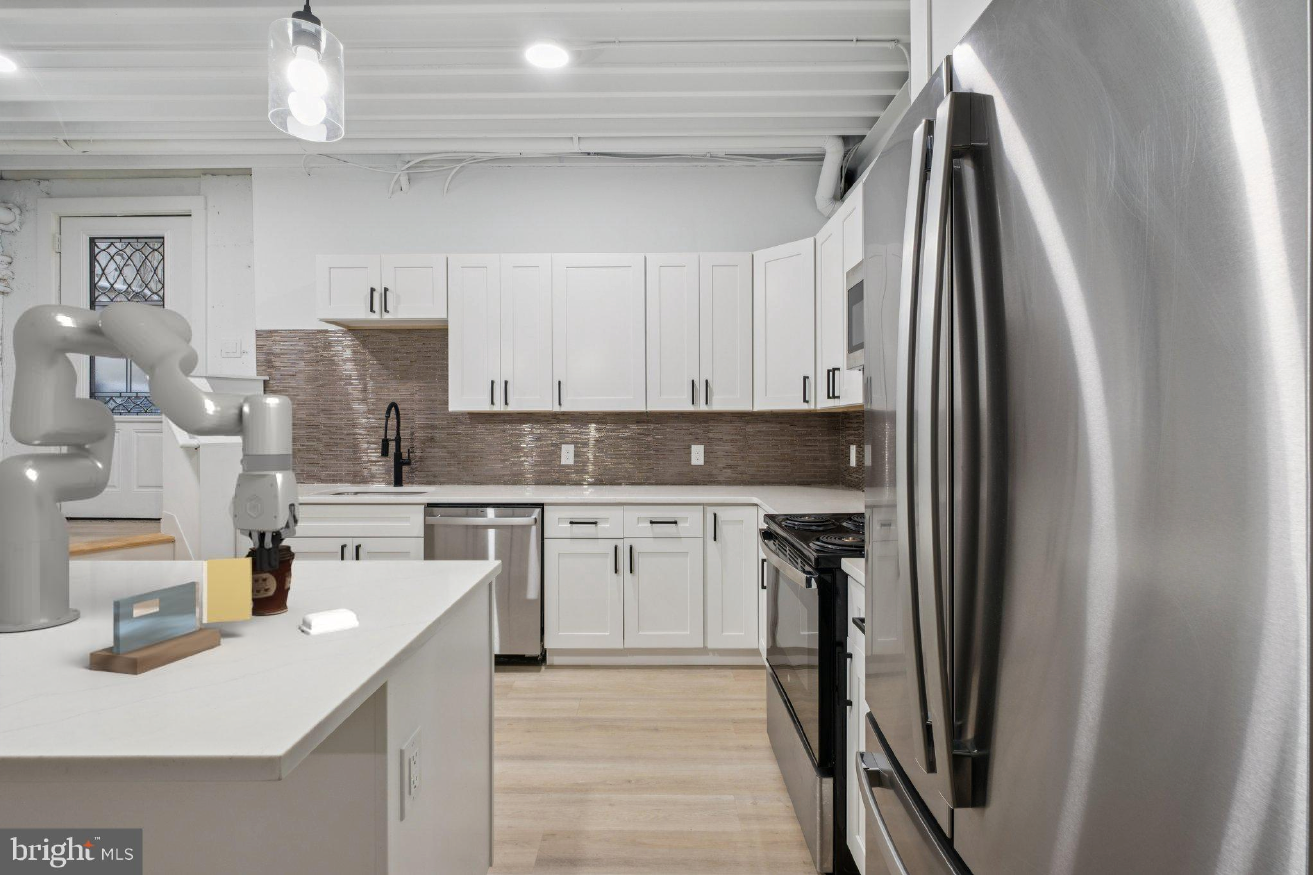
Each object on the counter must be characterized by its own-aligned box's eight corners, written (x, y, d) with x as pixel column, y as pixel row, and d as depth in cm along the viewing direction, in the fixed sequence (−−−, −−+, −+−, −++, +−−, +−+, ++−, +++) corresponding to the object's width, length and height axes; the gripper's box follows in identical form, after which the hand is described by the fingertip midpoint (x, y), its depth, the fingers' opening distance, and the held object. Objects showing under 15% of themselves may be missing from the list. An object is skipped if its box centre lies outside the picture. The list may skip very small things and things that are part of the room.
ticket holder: (89, 669, 99) (89, 599, 99) (177, 640, 113) (177, 579, 112) (136, 674, 97) (136, 603, 97) (220, 645, 110) (220, 582, 110)
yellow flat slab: (204, 621, 112) (204, 559, 112) (251, 617, 114) (251, 557, 114) (202, 623, 111) (202, 561, 111) (249, 619, 113) (249, 558, 113)
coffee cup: (270, 619, 126) (270, 551, 126) (233, 616, 127) (233, 549, 127) (303, 607, 134) (303, 543, 134) (268, 605, 136) (268, 542, 136)
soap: (308, 638, 116) (308, 621, 116) (297, 629, 120) (297, 613, 120) (361, 627, 122) (361, 612, 122) (348, 620, 127) (348, 605, 127)
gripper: (213, 465, 113) (214, 571, 113) (286, 466, 110) (287, 576, 110) (250, 463, 121) (250, 563, 121) (319, 464, 117) (319, 567, 117)
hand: (267, 569), depth 115 cm, fingers closed
